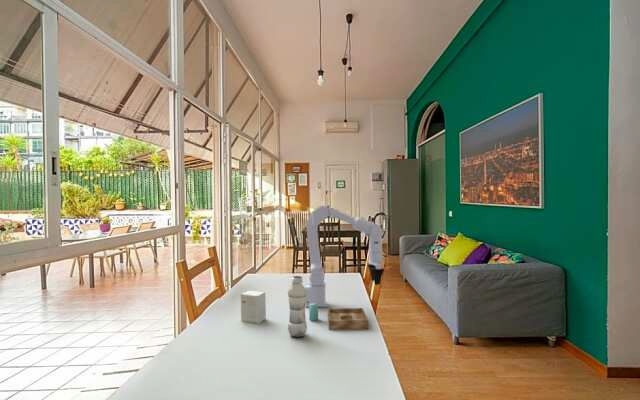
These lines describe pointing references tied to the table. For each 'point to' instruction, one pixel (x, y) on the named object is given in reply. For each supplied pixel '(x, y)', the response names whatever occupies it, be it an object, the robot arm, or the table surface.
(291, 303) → the plastic bottle
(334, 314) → the crate
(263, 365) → the table surface
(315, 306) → the peg
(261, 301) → the small box
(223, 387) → the table surface
